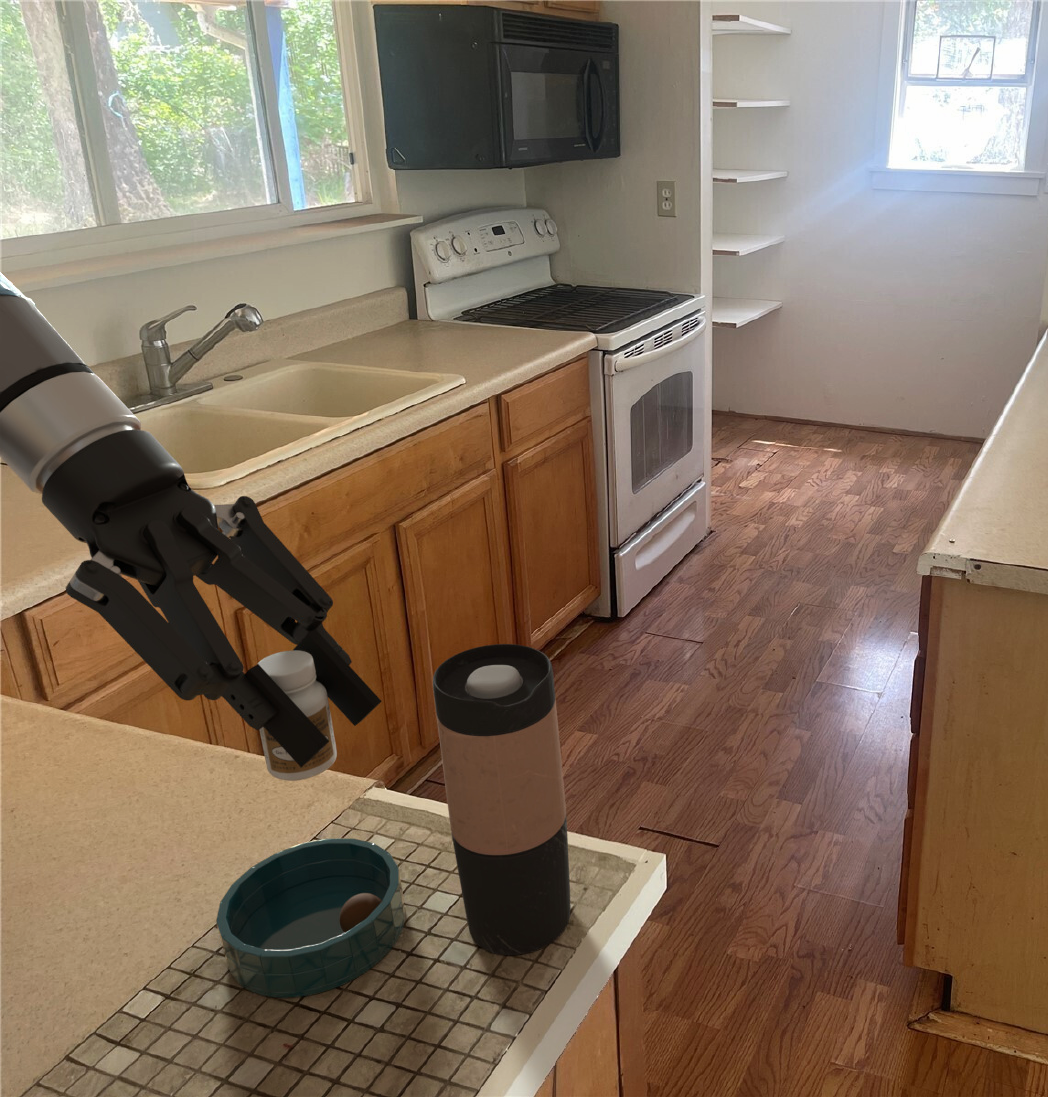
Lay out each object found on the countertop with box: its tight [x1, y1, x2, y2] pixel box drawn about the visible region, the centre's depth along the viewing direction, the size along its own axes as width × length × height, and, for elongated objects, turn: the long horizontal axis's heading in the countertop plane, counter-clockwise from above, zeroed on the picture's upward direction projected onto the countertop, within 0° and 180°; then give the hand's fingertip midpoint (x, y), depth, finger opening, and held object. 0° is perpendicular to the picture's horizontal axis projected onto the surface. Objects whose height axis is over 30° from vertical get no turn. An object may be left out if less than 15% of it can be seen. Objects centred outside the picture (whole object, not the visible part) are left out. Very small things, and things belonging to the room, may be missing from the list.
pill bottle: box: [257, 649, 338, 782], centre depth 67 cm, size 4×4×8 cm
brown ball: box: [339, 893, 382, 933], centre depth 70 cm, size 3×3×3 cm
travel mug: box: [432, 643, 571, 956], centre depth 69 cm, size 8×8×20 cm
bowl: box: [215, 837, 406, 999], centre depth 71 cm, size 12×12×4 cm
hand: (342, 732), depth 66 cm, fingers closed on pill bottle, 4 cm apart
